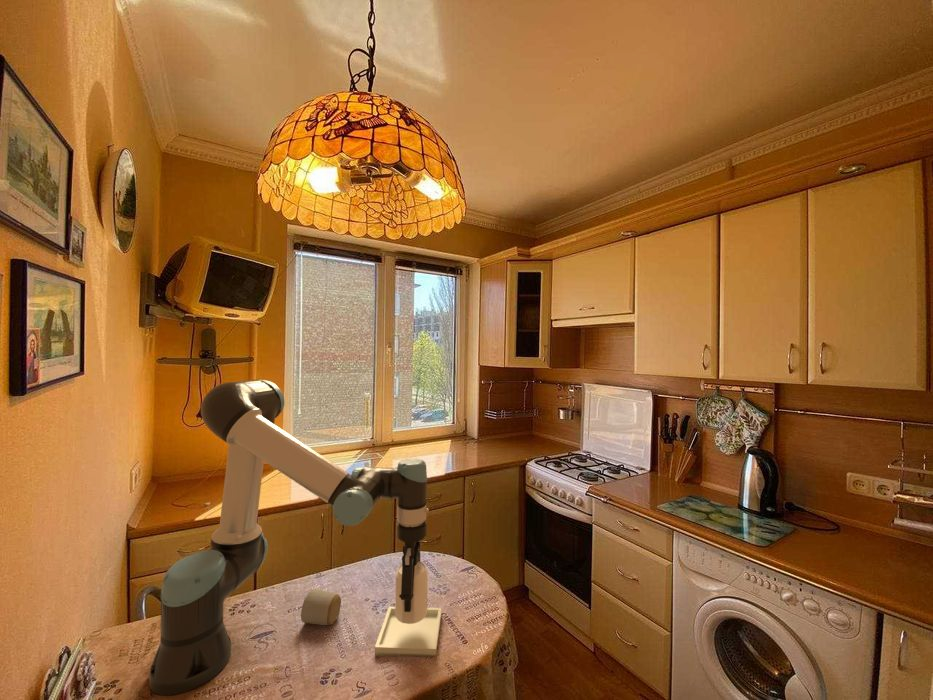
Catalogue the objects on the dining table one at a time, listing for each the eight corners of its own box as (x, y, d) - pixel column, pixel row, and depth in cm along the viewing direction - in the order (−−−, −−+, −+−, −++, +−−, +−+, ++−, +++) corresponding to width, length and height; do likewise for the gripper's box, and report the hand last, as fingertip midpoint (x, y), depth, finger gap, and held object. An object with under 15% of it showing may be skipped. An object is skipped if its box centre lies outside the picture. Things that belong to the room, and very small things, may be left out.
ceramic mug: (329, 632, 97) (330, 602, 97) (299, 629, 98) (300, 599, 98) (347, 606, 107) (348, 579, 108) (320, 603, 108) (321, 576, 109)
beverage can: (391, 610, 98) (392, 564, 99) (420, 601, 102) (421, 556, 102) (400, 630, 91) (401, 580, 91) (431, 619, 95) (432, 571, 95)
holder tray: (374, 655, 90) (374, 647, 90) (388, 613, 104) (389, 606, 104) (435, 657, 89) (435, 648, 89) (441, 615, 104) (441, 608, 104)
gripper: (420, 540, 87) (419, 641, 86) (431, 505, 108) (430, 585, 107) (388, 540, 87) (387, 640, 86) (405, 505, 108) (404, 585, 107)
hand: (411, 610), depth 97 cm, fingers closed on beverage can, 8 cm apart
